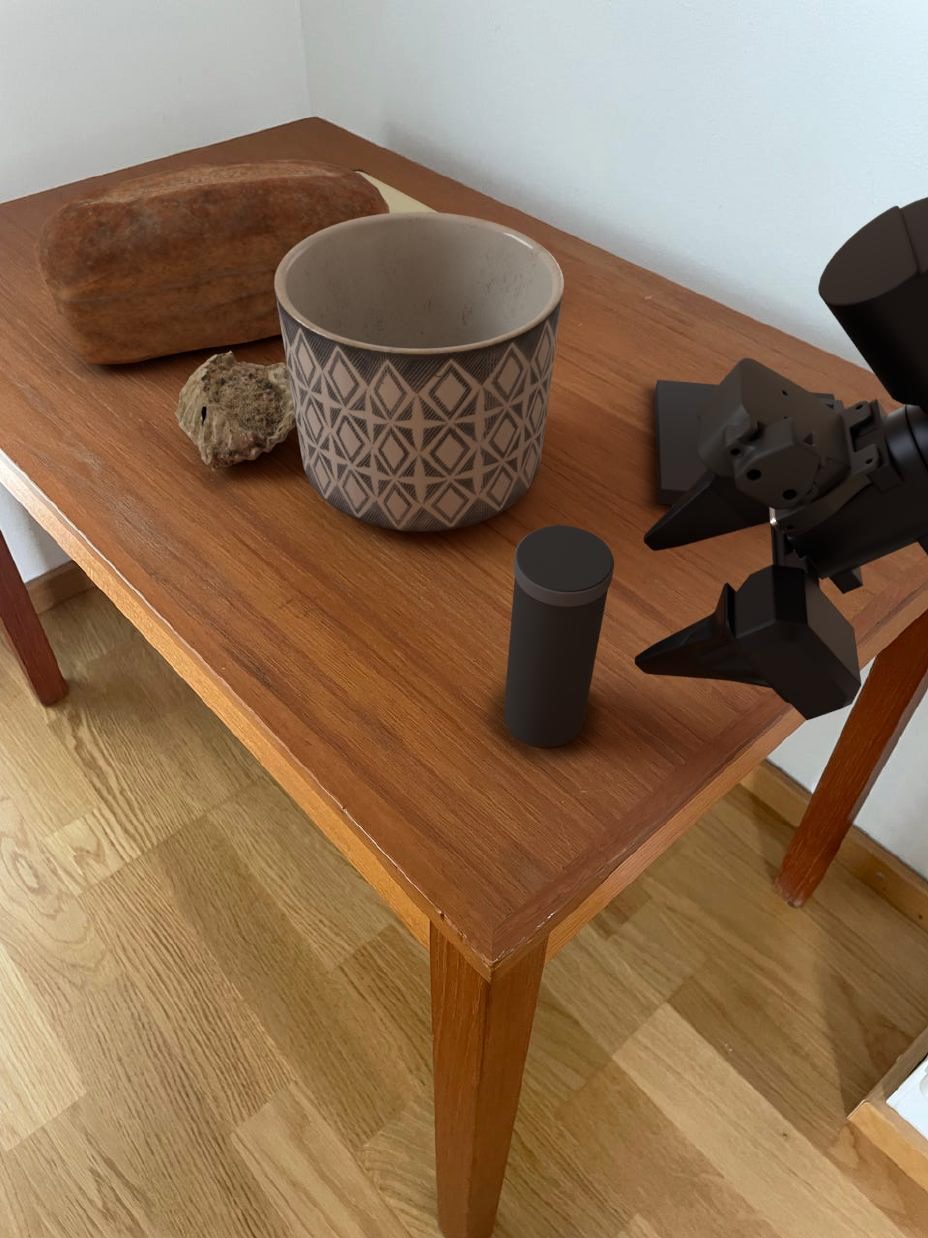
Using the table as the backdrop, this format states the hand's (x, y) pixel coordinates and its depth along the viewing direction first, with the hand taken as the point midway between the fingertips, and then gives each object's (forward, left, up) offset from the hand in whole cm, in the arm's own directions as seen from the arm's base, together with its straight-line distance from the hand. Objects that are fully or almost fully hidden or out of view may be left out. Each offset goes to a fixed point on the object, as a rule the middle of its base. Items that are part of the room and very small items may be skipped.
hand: (643, 601), depth 51 cm
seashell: (+30, -25, -11) cm, 41 cm away
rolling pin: (+21, -59, -11) cm, 63 cm away
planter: (+15, -23, -11) cm, 30 cm away
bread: (+36, -43, -11) cm, 58 cm away
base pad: (-11, -29, -11) cm, 33 cm away
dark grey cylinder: (+4, 0, -11) cm, 12 cm away
